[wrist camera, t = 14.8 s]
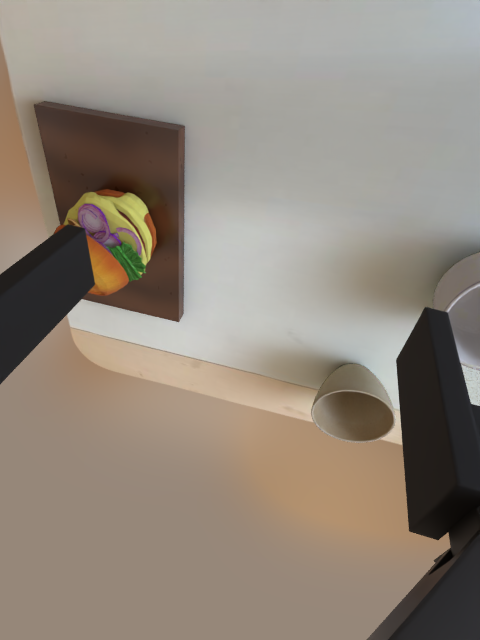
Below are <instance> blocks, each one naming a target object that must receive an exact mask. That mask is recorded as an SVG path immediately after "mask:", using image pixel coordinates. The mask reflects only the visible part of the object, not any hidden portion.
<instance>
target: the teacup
mask: <svg viewBox="0 0 480 640" xmlns="http://www.w3.org/2000/svg"><path fill="white" fill-rule="evenodd" d="M433 307H434V309H436V310H440V311H445V312H448V315H449V319H450V323H451V327H452V331H453V335H454V339H455V343H456V347H457V351H458V355H459V359H460V363H461V364H462V365H464V366H466V367H469V368H472V369H476V370H480V252H478V253H475V254H473V255H470V256H468V257H466V258H464V259H462V260H461V261H459V262H457V263H456V264H455V265H453V266H452V267H451V268H450V269H449V270H448V271H447V272H446V273H445V274H444V275H443V277H442V278H441V280H440V281H439V283H438V285H437V287H436V290H435V294H434V299H433Z"/></svg>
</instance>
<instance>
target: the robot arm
mask: <svg viewBox="0 0 480 640" xmlns="http://www.w3.org/2000/svg"><path fill="white" fill-rule="evenodd" d="M94 285H95V280H94V275H93V269H92V264H91V258H90V253H89V248H88V242H87V237H86V231H85V228H82V227H77V226H73V225H69V224H67V225H66V226H64V227H63V228H62V229H60V230H59V231H58V232H56V233H55V234H54V235H52V236H51V237H50V238H48V239H47V240H46V241H44V242H43V243H42V244H40V245H39V246H38V247H36V248H35V249H34V250H32V251H31V252H30V253H28V254H27V255H26V256H24V257H23V258H22V259H20V260H19V261H18V262H16V263H15V264H14V265H12V266H11V267H10V268H8V269H7V270H6V271H4V272H3V273H2V274H1V275H0V384H1V383H2V382H3V381H4V380H5V379H6V378H7V377H8V375H9V374H10V373H11V372H12V371H13V370H14V369H15V368H16V367H17V366H18V365H19V364H20V363H21V362H22V361H23V360H24V359H25V358H26V357H27V356H28V355H29V353H30V352H31V351H32V350H33V349H34V348H35V347H36V346H37V345H38V344H39V343H40V342H41V341H42V340H43V339H44V338H45V337H46V336H47V334H48V333H50V331H51V330H52V329H53V328H54V327H55V326H56V325H57V324H58V323H59V322H60V321H61V320H62V319H63V318H64V317H65V316H66V315H67V314H68V313H69V312H70V311H71V310H72V308H73V307H74V306H75V305H76V304H77V303H78V302H79V301H80V300H81V299H82V298H83V297H84V296H85V295H86V294H87V293H88V292H89V291H90V290H91V289H92V288H93V286H94ZM396 363H397V376H398V389H399V402H400V416H401V429H402V442H403V456H404V468H405V482H406V494H407V508H408V522H409V531H410V532H413V533H416V534H420V535H423V536H426V537H430V538H433V539H436V540H439V539H440V538H441V537H443V536H444V535H445V534H446V533H447V532H449V538H450V545H451V548H450V549H448V550H447V551H446V552H444V553H443V554H442V555H440V556H439V557H438V558H436V559H435V560H434V562H435V564H434V565H433V566H432V568H431V569H430V570H429V571H428V572H427V573H426V574H425V575H424V577H423V578H422V579H421V580H420V581H419V582H418V583H417V584H416V585H415V587H414V588H413V589H412V590H411V591H410V592H409V593H408V594H407V595H406V597H405V598H404V599H403V600H402V601H401V602H400V603H399V604H398V605H397V607H396V608H395V609H394V610H393V611H392V612H391V613H390V614H389V615H388V617H387V618H386V619H385V620H384V621H383V622H382V623H381V624H380V625H379V627H378V628H377V629H376V630H375V631H374V632H373V633H372V634H371V635H370V637H369V638H368V639H367V640H480V406H477V405H473V404H471V403H470V399H469V395H468V391H467V387H466V383H465V379H464V375H463V371H462V367H461V363H460V359H459V355H458V351H457V347H456V343H455V339H454V335H453V331H452V327H451V323H450V319H449V315H448V312H445V311H440V310H436V309H432V308H427V307H425V309H424V311H423V312H422V314H421V316H420V318H419V320H418V321H417V323H416V325H415V327H414V329H413V330H412V332H411V334H410V336H409V338H408V340H407V341H406V343H405V345H404V347H403V349H402V350H401V352H400V354H399V356H398V358H397V360H396Z"/></svg>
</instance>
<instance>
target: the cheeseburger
mask: <svg viewBox="0 0 480 640" xmlns="http://www.w3.org/2000/svg"><path fill="white" fill-rule="evenodd" d="M67 224H69V225H73V226H77V227H82V228H85V231H86V237H87V242H88V248H89V253H90V258H91V264H92V269H93V275H94V280H95V285H94V286H93V288H92V289H91V290H90V291H89V292H88V293H91V294H95V295H100V296H106V295H109V294H112V293H114V292H116V291H118V290H119V289H121V288H123V287H124V286H125V285H127V284H128V282H129V281H130V282H131V281H132V280H139V278H141V277H142V276H141V274H142V273H146V272H145V267H146V264H147V263H148V261H149V260H150V258H151V256H152V253H153V251H154V248H155V246H156V243H157V241H156V229H155V227H154V224H153V222H152V219H151V217H150V214H149V212H148V209H147V207H146V205H145V204H144V202H143V201H142V200H141V199H140V198H139V197H137V196H136V195H134V194H132V193H126V194H125V193H123V192H119V191H114V190H108V189H106V190H101V191H96V192H88V193H85V194H84V195H83V196H82V197H81V198H80V200H79V201H78V202H77V203H76V205H75V206H74V207H72V208H71V209H70V210H69V211H68V214H67V217H66V219H65V222H64V225H60V226H58V227H57V228H56V230H55V232H54V234H55V233H56V232H58V231H59V230H60V229H62V228H63V227H64V226H66V225H67ZM54 234H53V235H54Z"/></svg>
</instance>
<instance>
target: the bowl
mask: <svg viewBox="0 0 480 640" xmlns="http://www.w3.org/2000/svg"><path fill="white" fill-rule="evenodd" d="M311 415H312V419H313V421H314V423H315V424H316V425H317V427H318V428H319V429H320V430H322V431H323V432H324V433H326V434H327V435H329V436H332V437H334V438H337V439H339V440H343V441H347V442H357V443H361V442H371V441H375V440H378V439H381V438H383V437H385V436H386V435H387V434H389V433H390V432H391V431H392V429H393V428H394V426H395V421H396V418H395V413H394V409H393V406H392V403H391V400H390V398H389V396H388V394H387V392H386V390H385V388H384V387H383V385H382V384H381V382H380V381H379V380H378V378H377V377H376V376H375V375H374V374H373V373H372V372H371V371H370V370H369V369H367V368H366V367H364V366H361V365H358V364H346V365H343V366H341V367H339V368H338V369H336V370H335V371H334V372H333V373H332V374H330V376H329V377H328V378H327V379H326V380H325V381H324V383H323V384H322V386H321V387H320V389H319V391H318V393H317V395H316V397H315V400H314V403H313V406H312V410H311Z"/></svg>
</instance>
